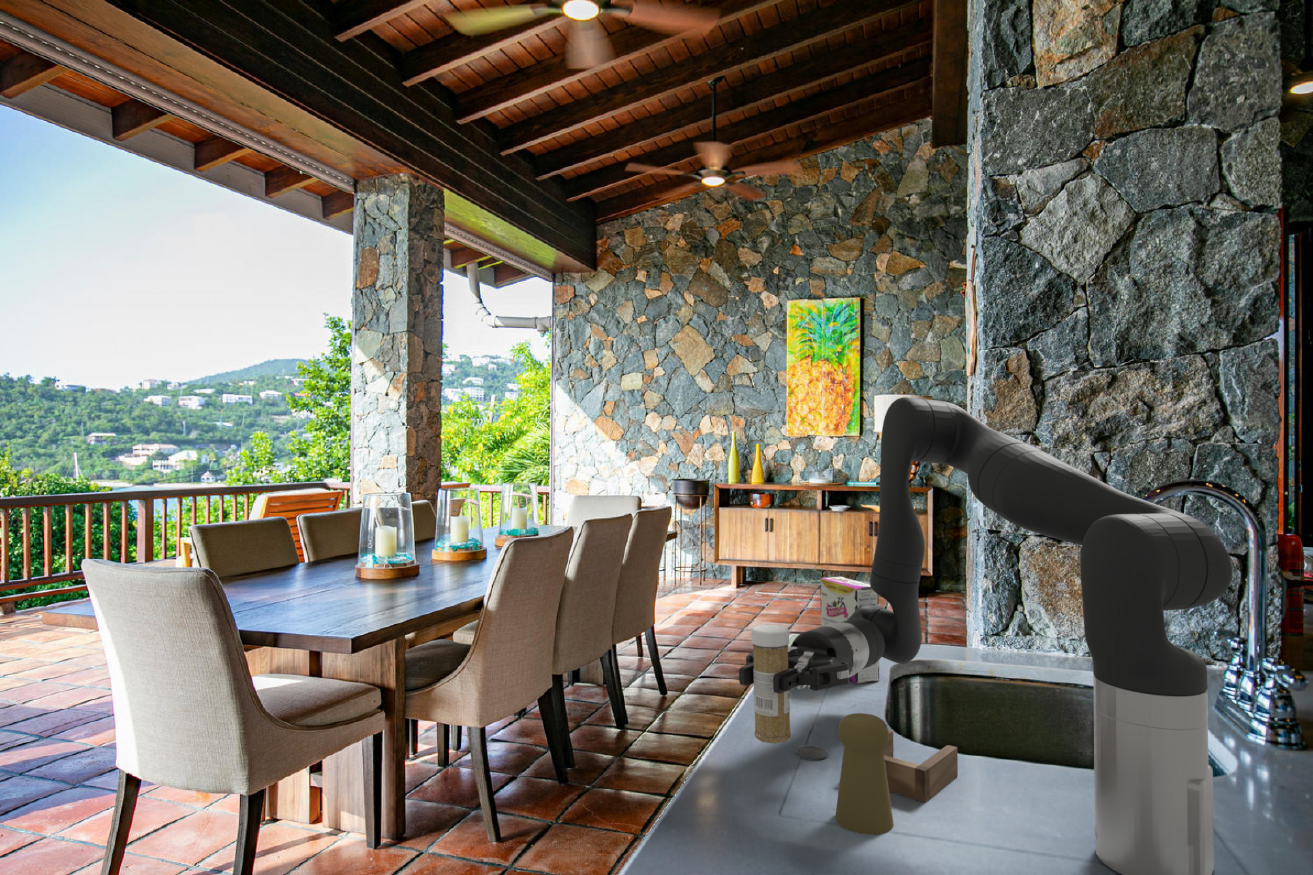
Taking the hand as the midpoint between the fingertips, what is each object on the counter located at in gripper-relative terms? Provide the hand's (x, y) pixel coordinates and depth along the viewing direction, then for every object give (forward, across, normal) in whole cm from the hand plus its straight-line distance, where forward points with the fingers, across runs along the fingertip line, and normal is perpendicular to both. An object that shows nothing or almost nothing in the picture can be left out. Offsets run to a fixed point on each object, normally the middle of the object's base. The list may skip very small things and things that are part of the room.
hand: (759, 680), depth 94 cm
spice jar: (-3, 0, +8) cm, 8 cm away
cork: (+1, +14, +12) cm, 19 cm away
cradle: (-12, +12, +12) cm, 21 cm away
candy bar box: (-47, -14, +12) cm, 50 cm away
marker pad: (-11, 0, +12) cm, 16 cm away
